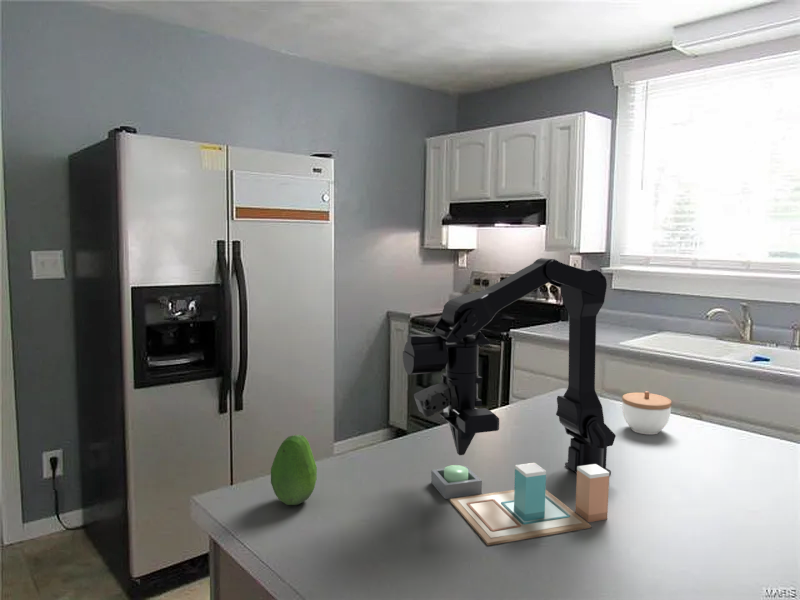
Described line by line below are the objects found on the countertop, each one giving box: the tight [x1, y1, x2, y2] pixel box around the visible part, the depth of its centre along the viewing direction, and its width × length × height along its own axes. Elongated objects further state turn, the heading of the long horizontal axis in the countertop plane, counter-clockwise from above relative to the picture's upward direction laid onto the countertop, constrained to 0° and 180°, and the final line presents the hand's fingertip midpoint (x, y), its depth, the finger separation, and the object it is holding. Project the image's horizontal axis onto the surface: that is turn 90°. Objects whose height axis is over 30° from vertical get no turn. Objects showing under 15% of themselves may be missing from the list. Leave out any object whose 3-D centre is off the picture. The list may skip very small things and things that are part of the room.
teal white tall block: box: [513, 462, 547, 521], centre depth 95 cm, size 4×4×8 cm
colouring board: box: [449, 489, 592, 546], centre depth 97 cm, size 18×15×1 cm
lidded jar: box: [621, 390, 673, 436], centre depth 137 cm, size 11×11×9 cm
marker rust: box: [574, 464, 610, 523], centre depth 96 cm, size 4×4×8 cm
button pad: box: [430, 465, 483, 500], centre depth 106 cm, size 7×7×2 cm
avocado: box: [270, 434, 318, 506], centre depth 100 cm, size 8×8×12 cm
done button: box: [443, 464, 468, 483], centre depth 106 cm, size 4×4×3 cm
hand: (460, 454), depth 105 cm, fingers closed
